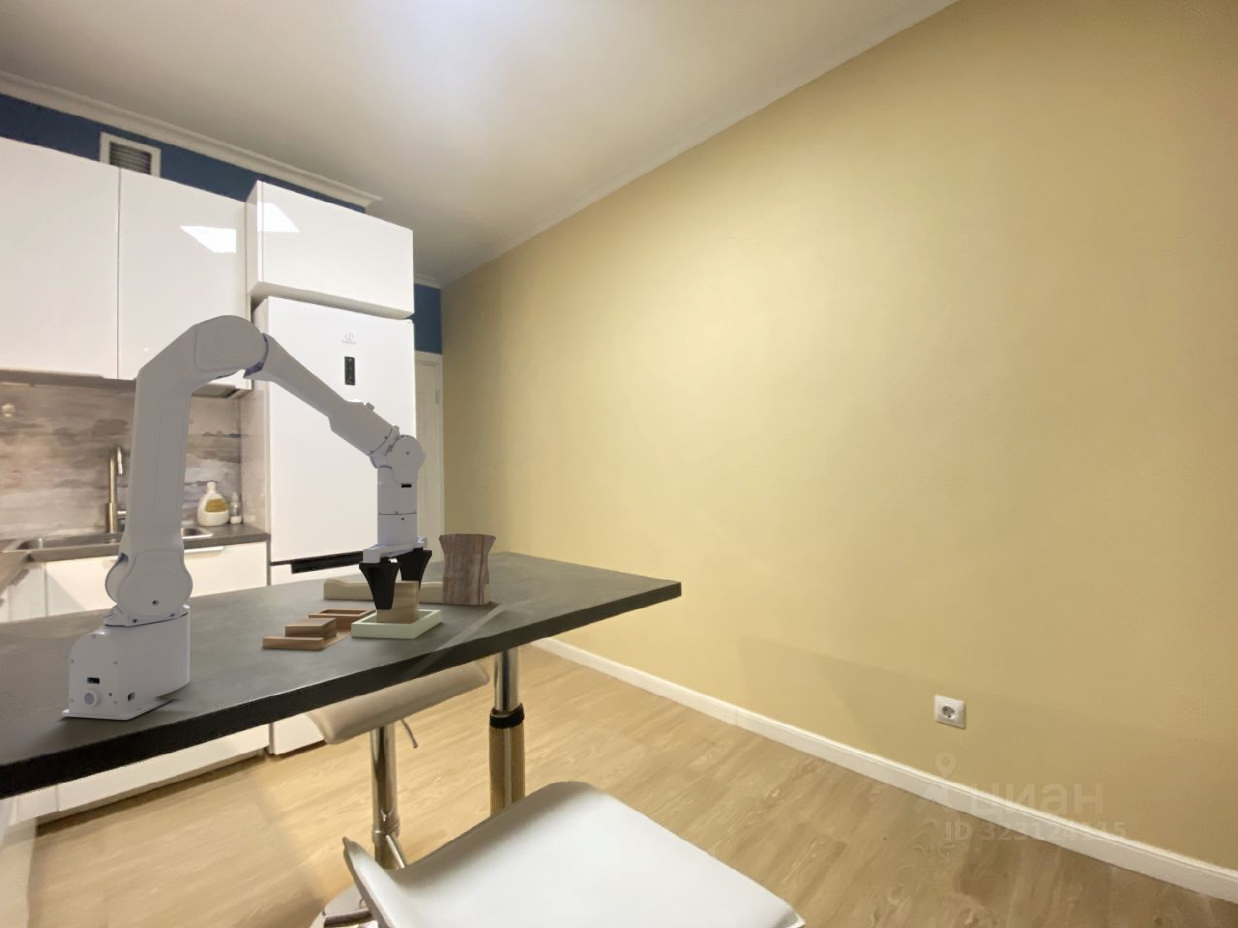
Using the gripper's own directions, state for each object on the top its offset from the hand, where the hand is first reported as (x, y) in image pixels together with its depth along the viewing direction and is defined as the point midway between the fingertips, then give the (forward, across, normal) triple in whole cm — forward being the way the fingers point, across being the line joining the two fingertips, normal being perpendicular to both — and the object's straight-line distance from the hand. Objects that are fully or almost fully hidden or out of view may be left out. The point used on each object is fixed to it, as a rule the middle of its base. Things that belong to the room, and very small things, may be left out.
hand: (398, 602), depth 81 cm
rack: (+5, -3, +10) cm, 11 cm away
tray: (+5, 0, 0) cm, 5 cm away
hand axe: (+5, +17, +8) cm, 20 cm away
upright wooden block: (+4, 0, 0) cm, 4 cm away
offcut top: (+3, -6, +10) cm, 12 cm away
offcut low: (+4, -6, +10) cm, 12 cm away
